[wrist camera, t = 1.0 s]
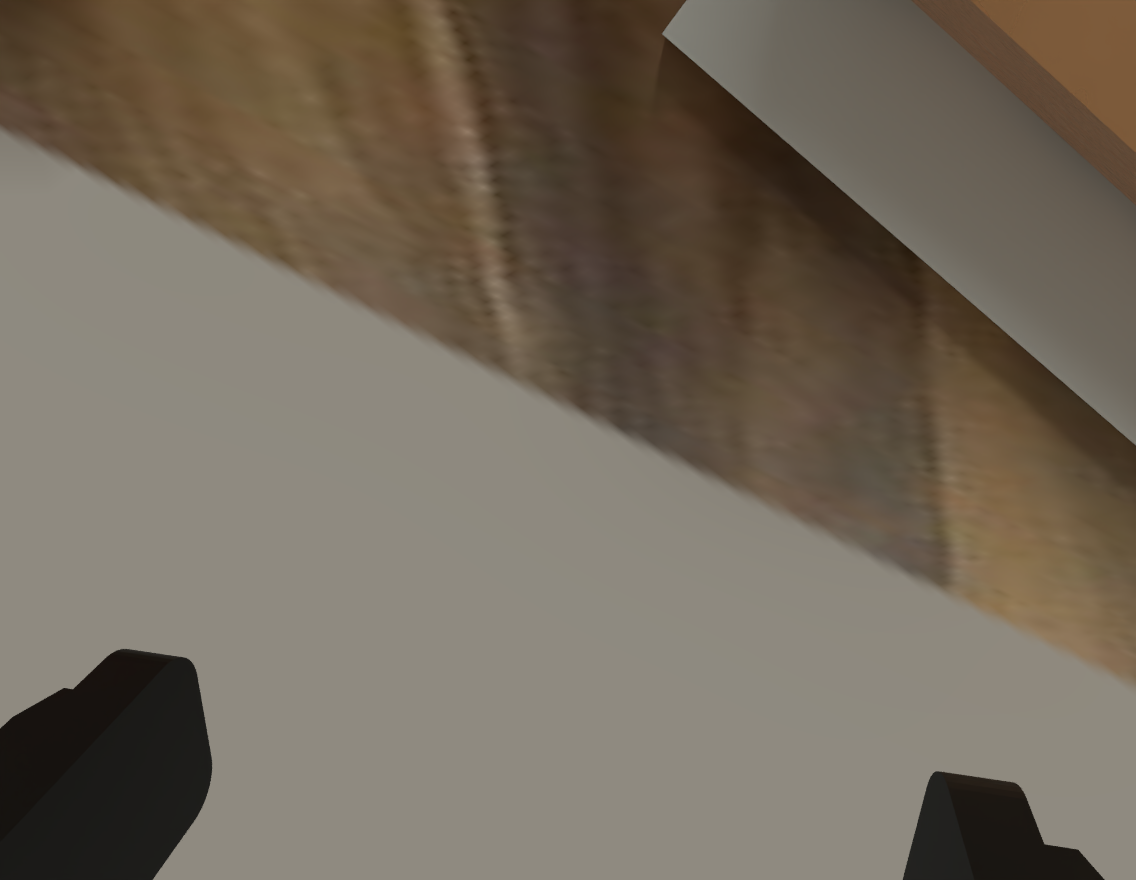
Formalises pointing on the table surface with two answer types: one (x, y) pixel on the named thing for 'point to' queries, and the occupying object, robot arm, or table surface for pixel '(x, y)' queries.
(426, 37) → the table surface
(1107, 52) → the swing arm
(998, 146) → the label board
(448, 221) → the table surface
